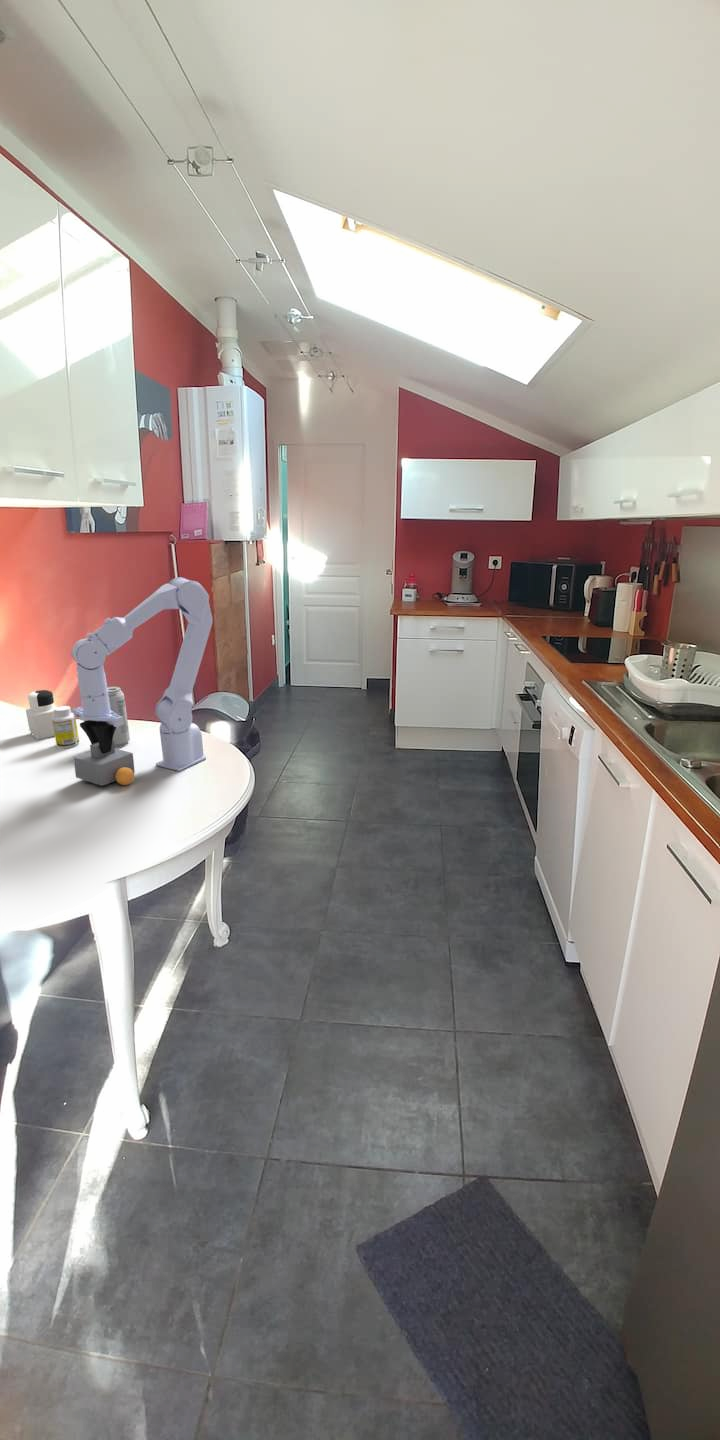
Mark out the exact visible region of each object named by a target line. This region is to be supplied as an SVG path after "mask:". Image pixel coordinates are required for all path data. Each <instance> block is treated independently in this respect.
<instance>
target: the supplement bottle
mask: <svg viewBox="0 0 720 1440" xmlns="http://www.w3.org/2000/svg"><path fill="white" fill-rule="evenodd" d="M54 714H55V715H54V716H53V717H52V722H53V728H54V733H55V736H54V738H55V743H56V746H57V747H58V748H61V749H70V748H74V747H76V746H78V745H79V743H80V736H79V731H78V726H77V725H78V724H77V720H76V718H75V717H74V715H73V712H72V709H71V706H69V705H62V706H56V708H54Z"/></svg>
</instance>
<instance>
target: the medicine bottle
mask: <svg viewBox="0 0 720 1440" xmlns="http://www.w3.org/2000/svg"><path fill="white" fill-rule="evenodd" d="M27 697H28V704H29V708H26V710H25V713H26V714H25V715H26V719H27V723H28V729H29V730H28V731H29V732H30V731H31V733H32V734H33V735H32V734H31V733H30V734H31V735H32V737H34V738H35V739H36V740H37V739H39V740H43V739H48V738H51V737H55V733H54V728H53V722H52V717H53V716H54V715H55V714H54V708H56V707H57V706H56V705H55V700H54V699H55V698H54V695H53V692H52V691H50V690H48V689H43V690H42V689H41V690H35V691H32V692H30V693H29V694H28V696H27Z"/></svg>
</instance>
